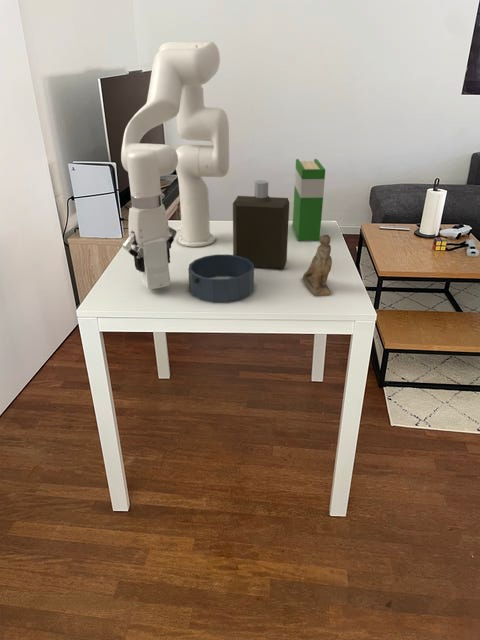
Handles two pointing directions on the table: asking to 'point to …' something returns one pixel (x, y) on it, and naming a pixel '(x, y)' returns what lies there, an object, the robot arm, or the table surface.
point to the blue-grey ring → (221, 288)
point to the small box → (155, 264)
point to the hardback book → (308, 199)
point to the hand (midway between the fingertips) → (153, 265)
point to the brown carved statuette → (319, 269)
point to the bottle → (261, 228)
